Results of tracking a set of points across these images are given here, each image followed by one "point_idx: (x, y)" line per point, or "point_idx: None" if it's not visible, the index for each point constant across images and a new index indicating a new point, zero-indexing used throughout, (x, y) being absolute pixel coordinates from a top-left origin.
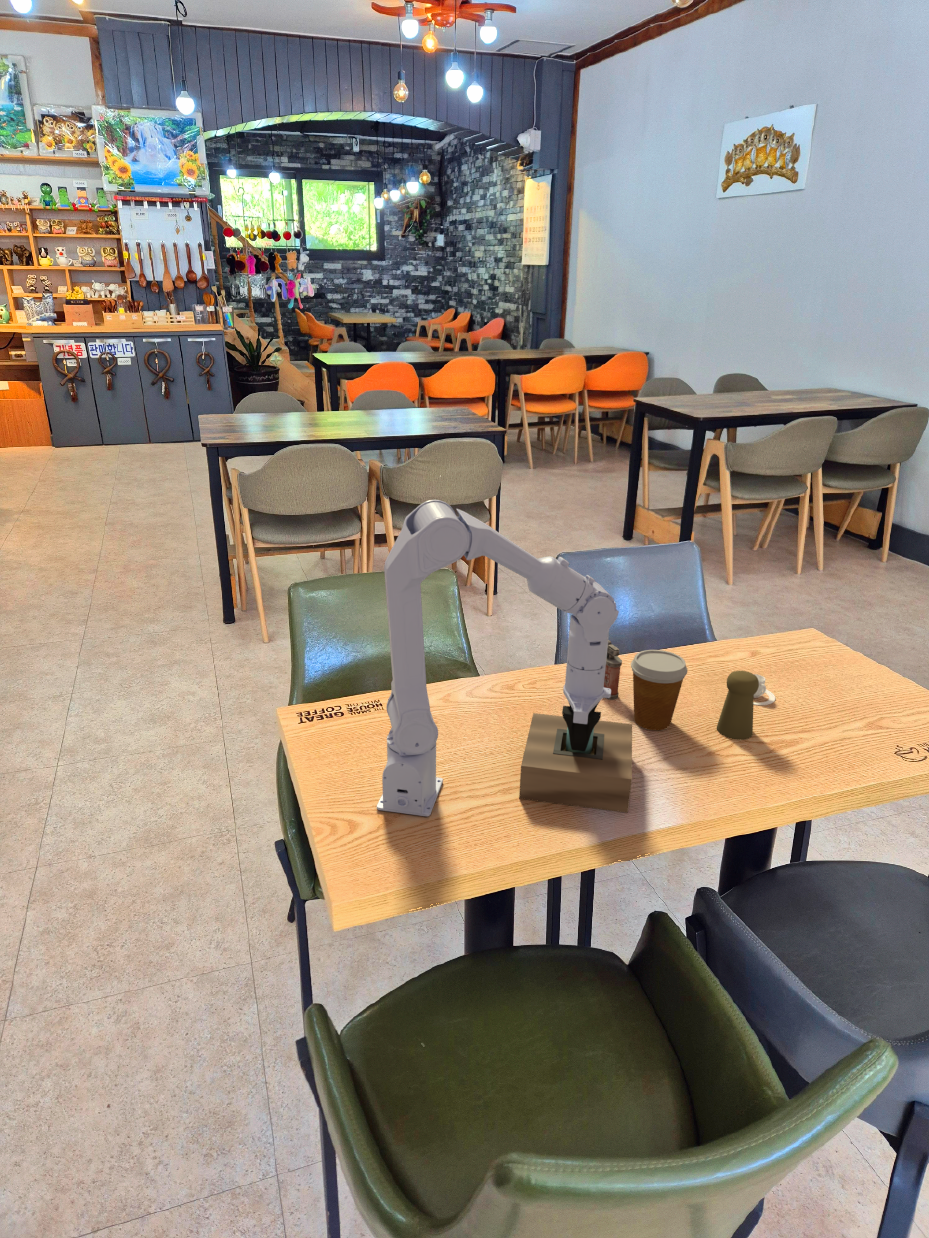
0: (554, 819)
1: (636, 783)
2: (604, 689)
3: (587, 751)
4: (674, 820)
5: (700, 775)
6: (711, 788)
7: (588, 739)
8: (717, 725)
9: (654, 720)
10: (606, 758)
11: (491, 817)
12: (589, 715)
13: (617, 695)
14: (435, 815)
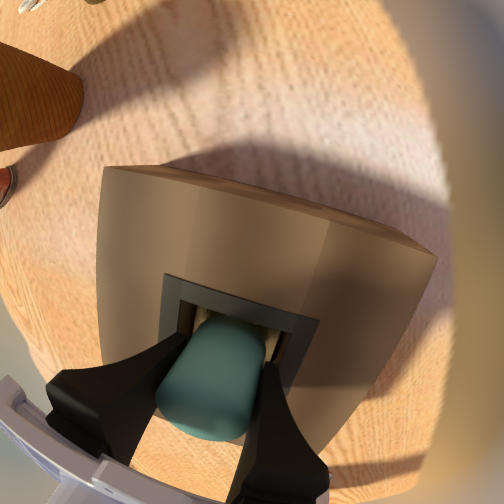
0: (384, 368)
1: (282, 171)
2: (121, 501)
3: (258, 343)
4: (427, 133)
5: (249, 21)
6: (302, 13)
7: (284, 394)
8: (93, 1)
9: (66, 100)
10: (313, 306)
11: (351, 434)
12: (294, 496)
13: (11, 167)
14: (329, 468)
